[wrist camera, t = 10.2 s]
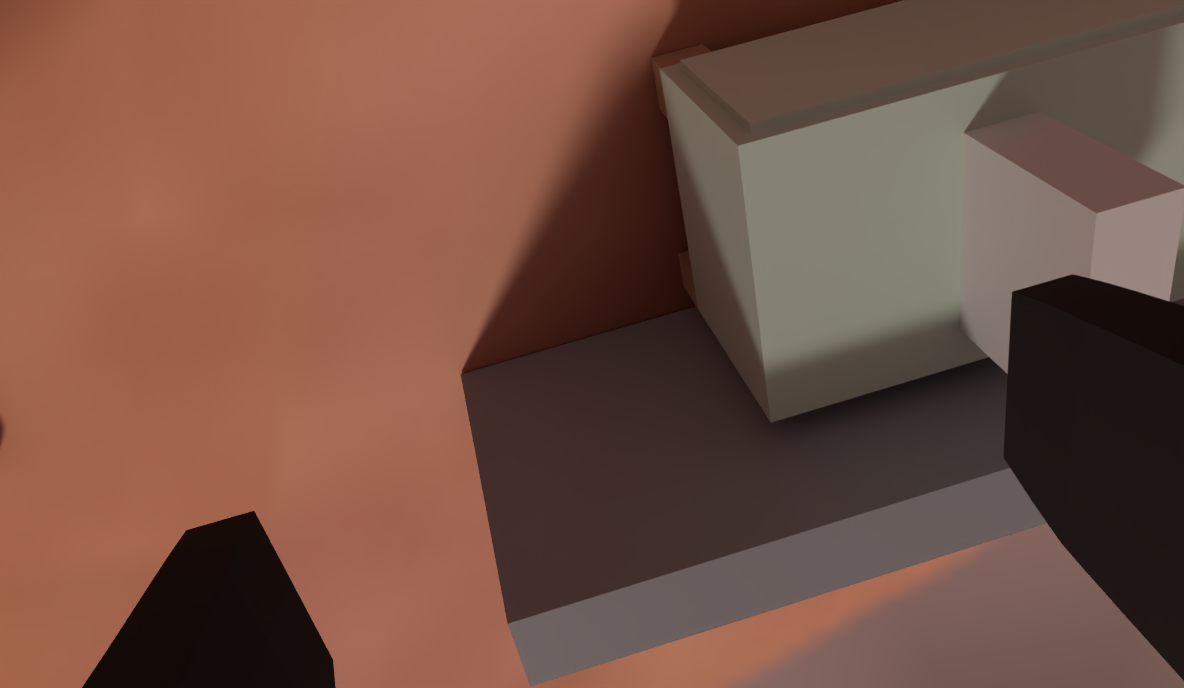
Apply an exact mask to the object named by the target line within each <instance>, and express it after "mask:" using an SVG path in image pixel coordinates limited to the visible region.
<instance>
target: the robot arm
mask: <svg viewBox="0 0 1184 688" xmlns="http://www.w3.org/2000/svg"><path fill="white" fill-rule="evenodd" d="M1003 458H1004V459H1005V461H1006V462H1007V464H1008V465H1009V467H1010V468H1011V470H1012V471H1013V473H1014V474H1015V476H1016V478H1017V479H1018V481H1019V482H1020V484H1021V485H1022V487H1023V488H1024V490H1025V491H1026V493H1027V494H1028V496H1029V497H1030V499H1031V500H1032V502H1033V504H1034V505H1035V506H1036V508H1037V509H1038V511H1039V512H1040V513H1041V515H1042V516H1043V518H1044V519H1045V521H1046V522H1047V523H1048V525H1049V526H1050V528H1051V529H1052V530H1053V532H1054V533H1055V535H1056V536H1057V538H1058V539H1059V540H1060V542H1061V543H1062V544H1063V545H1064V547H1065V548H1066V549H1067V550H1068V551H1069V552H1070V553H1071V555H1072V556H1073V557H1074V558H1075V559H1076V561H1077V562H1078V563H1079V564H1080V565H1081V566H1082V567H1083V569H1084V570H1085V571H1086V572H1087V573H1088V574H1089V575H1090V576H1091V577H1092V579H1093V580H1094V581H1095V582H1096V583H1097V584H1098V585H1099V587H1100V588H1101V589H1102V590H1103V591H1104V592H1105V593H1106V595H1107V596H1108V597H1109V598H1110V599H1111V600H1112V601H1113V602H1114V603H1115V605H1116V606H1117V607H1118V608H1119V609H1120V610H1121V611H1122V613H1123V614H1124V615H1125V616H1126V617H1127V618H1128V619H1129V620H1130V621H1131V622H1132V624H1133V625H1134V626H1135V627H1136V628H1137V629H1138V630H1139V631H1140V632H1141V634H1142V635H1143V636H1144V637H1145V638H1146V639H1147V640H1148V641H1149V642H1150V644H1151V645H1152V646H1153V647H1154V648H1155V649H1156V650H1157V651H1158V652H1159V653H1160V655H1161V656H1162V657H1163V658H1164V659H1165V660H1166V661H1167V662H1168V664H1169V665H1170V666H1171V667H1172V668H1173V669H1174V670H1175V671H1176V672H1177V674H1178V675H1179V676H1180V677H1181V678H1182V679H1183V680H1184V306H1182V305H1179V304H1176V303H1173V302H1170V301H1166V300H1163V299H1160V298H1157V297H1153V296H1150V295H1147V294H1144V293H1140V292H1137V291H1134V290H1130V289H1127V288H1124V287H1120V286H1117V285H1113V284H1110V283H1106V282H1102V281H1099V280H1094V279H1090V278H1086V277H1082V276H1078V275H1073V274H1072V275H1068V276H1065V277H1061V278H1058V279H1054V280H1051V281H1047V282H1044V283H1040V284H1037V285H1034V286H1030V287H1027V288H1023V289H1020V290H1016V291H1013V292H1012V299H1011V318H1010V338H1009V357H1008V377H1007V396H1006V415H1005V435H1004V454H1003ZM82 688H335V678H334V667H333V659H332V657H331V655H330V653H329V651H328V649H327V648H326V646H325V644H324V642H323V640H322V638H321V636H320V634H319V632H318V631H317V629H316V627H315V625H314V623H313V621H312V619H311V617H310V615H309V614H308V612H307V610H306V608H305V606H304V604H303V602H302V600H301V598H300V597H299V595H298V593H297V591H296V589H295V587H294V585H293V583H292V581H291V580H290V578H289V576H288V574H287V572H286V570H285V568H284V566H283V564H282V563H281V561H280V559H279V557H278V555H277V553H276V551H275V549H274V547H273V546H272V544H271V542H270V540H269V538H268V536H267V534H266V532H265V530H264V529H263V527H262V525H261V523H260V521H259V519H258V517H257V515H256V513H255V512H254V511H252V512H248V513H245V514H241V515H238V516H234V517H231V518H227V519H224V520H221V521H217V522H214V523H210V524H207V525H203V526H200V527H196V528H193V529H189V530H186V532H185V533H184V534H183V536H182V537H181V539H180V540H179V542H178V543H177V544H176V546H175V547H174V549H173V550H172V552H171V553H170V555H169V556H168V557H167V559H166V560H165V562H164V564H163V565H162V567H161V568H160V570H159V571H158V573H157V574H156V576H155V577H154V579H153V580H152V582H151V583H150V585H149V586H148V588H147V590H146V591H145V593H144V594H143V596H142V597H141V599H140V600H139V602H138V603H137V605H136V607H135V608H134V610H133V611H132V613H131V614H130V616H129V617H128V619H127V620H126V622H125V624H124V625H123V627H122V628H121V630H120V631H119V633H118V634H117V636H116V637H115V639H114V640H113V642H112V644H111V645H110V647H109V648H108V650H107V651H106V653H105V654H104V656H103V657H102V659H101V660H100V662H99V663H98V665H97V666H96V668H95V669H94V671H93V672H92V674H91V675H90V677H89V678H88V680H87V681H86V683H85V684H84V686H83V687H82Z"/></svg>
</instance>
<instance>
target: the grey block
mask: <svg viewBox="0 0 1184 688" xmlns="http://www.w3.org/2000/svg"><path fill="white" fill-rule="evenodd" d="M651 62H652V68H653V74H654V80H655V86H656V93H657V99H658V105H659V110H660V111H661V112H662V113H663V114H664V115H665V117H666V118H667V119H668V124H669V130H670V137H671V143H672V149H673V155H674V162H675V168H676V174H677V181H678V187H679V193H680V199H681V206H682V212H683V218H684V225H685V231H686V237H687V243H688V251H685V252H681V253H678V257H679V263H680V269H681V275H682V281H683V286H684V288H685V290H686V291H687V293H688V294H689V296H690V297H691V299H692V300H693V302H694V304H695V305H696V307H697V308H698V310H699V311H700V313H701V314H702V316H703V318H704V319H705V321H706V322H707V324H708V325H709V327H710V329H711V330H712V332H713V333H714V335H715V336H716V338H717V339H718V341H719V343H720V344H721V346H722V347H723V349H724V350H725V352H726V353H727V355H728V357H729V358H730V360H731V361H732V363H733V364H734V366H735V368H736V369H737V371H738V372H739V374H740V375H741V377H742V378H743V380H744V382H745V383H746V385H747V386H748V388H749V389H750V391H751V393H752V394H753V396H754V397H755V399H756V400H757V402H758V403H759V405H760V407H761V408H762V410H763V411H764V413H765V414H766V416H767V417H768V419H769V421H770V422H771V423H772V422H775V421H778V420H782V419H785V418H788V417H792V416H795V415H798V414H802V413H805V412H808V411H812V410H815V409H818V408H821V407H825V406H828V405H831V404H835V403H838V402H841V401H845V400H848V399H851V398H855V397H858V396H861V395H865V394H868V393H871V392H875V391H878V390H881V389H885V388H888V387H891V386H895V385H898V384H901V383H905V382H908V381H911V380H915V379H918V378H921V377H925V376H928V375H931V374H934V373H938V372H941V371H944V370H948V369H951V368H954V367H958V366H961V365H964V364H968V363H971V362H974V361H978V360H981V359H984V358H988V357H990V358H991V359H992V360H993V361H994V362H995V363H996V364H997V365H998V366H999V367H1001V368H1002V369H1003V370H1004V371H1005V372H1006V373H1007V374H1008V357H1009V338H1010V318H1011V299H1012V292H1013V291H1016V290H1020V289H1023V288H1027V287H1030V286H1034V285H1037V284H1040V283H1044V282H1047V281H1051V280H1054V279H1058V278H1061V277H1065V276H1068V275H1072V274H1073V275H1078V276H1082V277H1086V278H1090V279H1094V280H1099V281H1102V282H1106V283H1110V284H1113V285H1117V286H1120V287H1124V288H1127V289H1130V290H1134V291H1137V292H1140V293H1144V294H1147V295H1150V296H1153V297H1157V298H1160V299H1163V300H1166V301H1170V302H1174V301H1177V300H1180V299H1184V0H903V1H899V2H895V3H892V4H888V5H884V6H880V7H877V8H873V9H869V10H865V11H862V12H858V13H854V14H851V15H847V16H843V17H839V18H836V19H832V20H828V21H824V22H821V23H817V24H813V25H810V26H806V27H802V28H798V29H795V30H791V31H787V32H783V33H780V34H776V35H772V36H769V37H765V38H761V39H757V40H754V41H750V42H746V43H742V44H739V45H735V46H731V47H728V48H724V49H720V50H716V51H713V52H712V51H711V50H710V49H708V48H707V47H706V46H705V45H703V44H701V45H697V46H693V47H689V48H686V49H682V50H678V51H674V52H671V53H667V54H663V55H660V56H656V57H652V58H651Z"/></svg>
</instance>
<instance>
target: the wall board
mask: <svg viewBox="0 0 1184 688" xmlns="http://www.w3.org/2000/svg"><path fill="white" fill-rule="evenodd" d="M1173 303H1176V304H1179V305H1182V306H1184V299H1180V300H1177V301H1174V302H1173ZM1007 377H1008V374H1007V373H1006V372H1005V371H1004V370H1003V369H1002V368H1001V367H999V366H998V365H997V364H996V363H995V362H994V361H993V360H992V359H991V358H990V357H988V358H984V359H981V360H978V361H974V362H971V363H968V364H964V365H961V366H958V367H954V368H951V369H948V370H944V371H941V372H938V373H934V374H931V375H928V376H925V377H921V378H918V379H915V380H911V381H908V382H905V383H901V384H898V385H895V386H891V387H888V388H885V389H881V390H878V391H875V392H871V393H868V394H865V395H861V396H858V397H855V398H851V399H848V400H845V401H841V402H838V403H835V404H831V405H828V406H825V407H821V408H818V409H815V410H812V411H808V412H805V413H802V414H798V415H795V416H792V417H788V418H785V419H782V420H778V421H775V422H772V423H771V422H770V421H769V419H768V417H767V416H766V414H765V413H764V411H763V410H762V408H761V407H760V405H759V403H758V402H757V400H756V399H755V397H754V396H753V394H752V393H751V391H750V389H749V388H748V386H747V385H746V383H745V382H744V380H743V378H742V377H741V375H740V374H739V372H738V371H737V369H736V368H735V366H734V364H733V363H732V361H731V360H730V358H729V357H728V355H727V353H726V352H725V350H724V349H723V347H722V346H721V344H720V343H719V341H718V339H717V338H716V336H715V335H714V333H713V332H712V330H711V329H710V327H709V325H708V324H707V322H706V321H705V319H704V318H703V316H702V314H701V313H700V311H699V310H698V308H697V307H696V306H695V307H692V308H688V309H685V310H681V311H678V312H675V313H671V314H668V315H664V316H661V317H657V318H654V319H650V320H647V321H643V322H640V323H636V324H633V325H630V326H626V327H623V328H619V329H616V330H612V331H609V332H605V333H602V334H598V335H595V336H591V337H588V338H585V339H581V340H578V341H574V342H571V343H567V344H564V345H560V346H557V347H553V348H550V349H546V350H543V351H539V352H536V353H533V354H529V355H526V356H522V357H519V358H515V359H512V360H508V361H505V362H501V363H498V364H494V365H491V366H488V367H484V368H481V369H477V370H474V371H470V372H467V373H463V374H461V378H462V383H463V389H464V394H465V399H466V405H467V410H468V415H469V421H470V426H471V431H472V436H473V442H474V447H475V452H476V458H477V463H478V468H479V474H480V479H481V484H482V490H483V495H484V500H485V505H486V511H487V516H488V521H489V527H490V532H491V537H492V543H493V548H494V553H495V558H496V564H497V569H498V574H499V580H500V585H501V590H502V596H503V601H504V606H505V611H506V617H507V622H508V626H509V628H510V631H511V634H512V637H513V639H514V642H515V645H516V648H517V650H518V653H519V656H520V659H521V661H522V664H523V667H524V670H525V672H526V675H527V678H528V681H529V683H530V686H534V685H537V684H540V683H543V682H546V681H549V680H553V679H556V678H559V677H562V676H565V675H568V674H571V673H575V672H578V671H581V670H584V669H587V668H590V667H594V666H597V665H600V664H603V663H606V662H609V661H613V660H616V659H619V658H622V657H625V656H628V655H632V654H635V653H638V652H641V651H644V650H647V649H651V648H654V647H657V646H660V645H663V644H666V643H669V642H673V641H676V640H679V639H682V638H685V637H688V636H692V635H695V634H698V633H701V632H704V631H707V630H711V629H714V628H717V627H720V626H723V625H726V624H730V623H733V622H736V621H739V620H742V619H745V618H749V617H752V616H755V615H758V614H761V613H764V612H767V611H771V610H774V609H777V608H780V607H783V606H786V605H790V604H793V603H796V602H799V601H802V600H805V599H809V598H812V597H815V596H818V595H821V594H824V593H828V592H831V591H834V590H837V589H840V588H843V587H847V586H850V585H853V584H856V583H859V582H862V581H865V580H869V579H872V578H875V577H878V576H881V575H884V574H888V573H891V572H894V571H897V570H900V569H903V568H907V567H910V566H913V565H916V564H919V563H922V562H926V561H929V560H932V559H935V558H938V557H941V556H944V555H948V554H951V553H954V552H957V551H960V550H963V549H967V548H970V547H973V546H976V545H979V544H982V543H986V542H989V541H992V540H995V539H998V538H1001V537H1005V536H1008V535H1011V534H1014V533H1017V532H1020V531H1024V530H1027V529H1030V528H1033V527H1036V526H1039V525H1042V524H1046V523H1047V522H1046V521H1045V519H1044V518H1043V516H1042V515H1041V513H1040V512H1039V511H1038V509H1037V508H1036V506H1035V505H1034V504H1033V502H1032V500H1031V499H1030V497H1029V496H1028V494H1027V493H1026V491H1025V490H1024V488H1023V487H1022V485H1021V484H1020V482H1019V481H1018V479H1017V478H1016V476H1015V474H1014V473H1013V471H1012V470H1011V468H1010V467H1009V465H1008V464H1007V462H1006V461H1005V459H1004V458H1003V454H1004V435H1005V415H1006V396H1007Z"/></svg>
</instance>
